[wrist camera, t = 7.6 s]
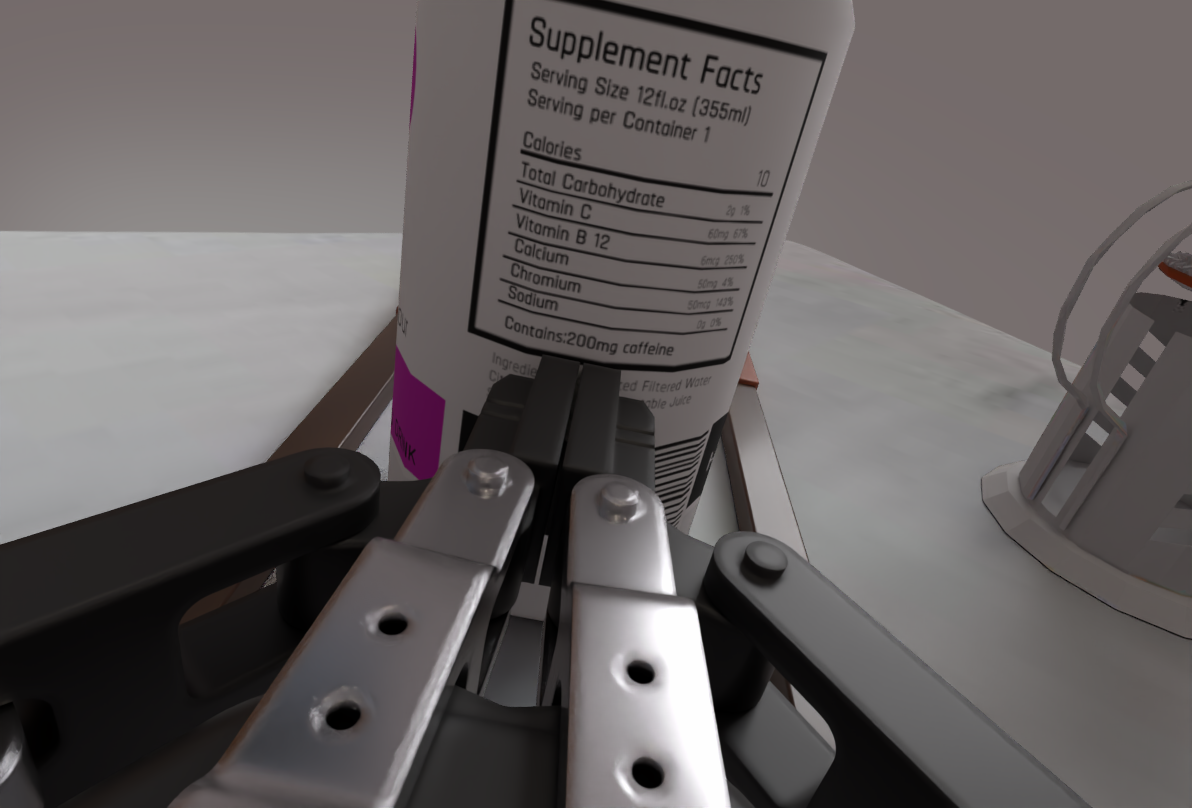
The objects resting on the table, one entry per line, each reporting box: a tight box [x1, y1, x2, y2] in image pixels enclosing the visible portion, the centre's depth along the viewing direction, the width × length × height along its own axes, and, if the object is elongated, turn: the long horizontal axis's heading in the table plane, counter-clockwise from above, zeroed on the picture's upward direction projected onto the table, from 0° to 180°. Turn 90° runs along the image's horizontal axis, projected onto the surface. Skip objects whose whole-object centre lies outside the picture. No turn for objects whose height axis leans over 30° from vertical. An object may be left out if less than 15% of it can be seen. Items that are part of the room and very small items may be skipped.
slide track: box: [179, 307, 836, 751], centre depth 24 cm, size 15×28×1 cm, turn 176°
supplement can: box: [388, 0, 855, 621], centre depth 16 cm, size 8×8×15 cm
